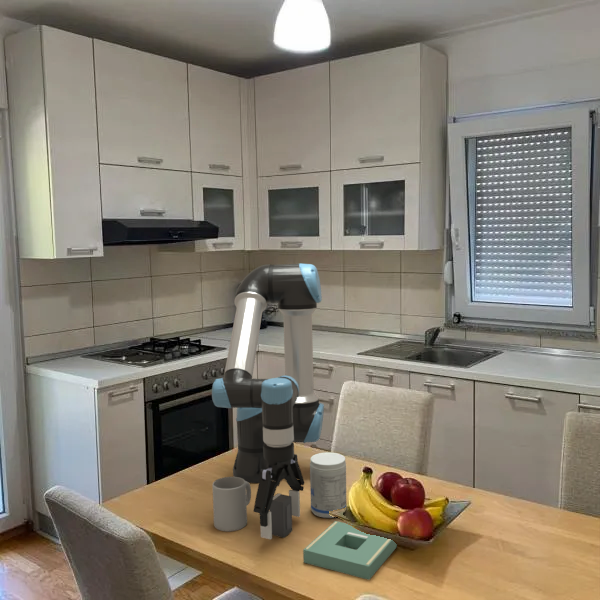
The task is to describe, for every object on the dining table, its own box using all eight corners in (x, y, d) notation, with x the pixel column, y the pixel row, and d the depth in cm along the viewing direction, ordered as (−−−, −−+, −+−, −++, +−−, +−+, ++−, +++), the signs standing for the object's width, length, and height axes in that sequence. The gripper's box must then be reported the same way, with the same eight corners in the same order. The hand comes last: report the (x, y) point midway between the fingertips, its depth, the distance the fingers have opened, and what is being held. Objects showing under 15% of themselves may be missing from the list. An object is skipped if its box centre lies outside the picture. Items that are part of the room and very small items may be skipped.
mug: (231, 534, 156) (229, 492, 155) (206, 526, 161) (205, 484, 160) (262, 516, 166) (261, 476, 165) (238, 509, 171) (237, 469, 170)
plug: (278, 527, 159) (277, 492, 158) (293, 531, 157) (292, 495, 156) (270, 534, 156) (268, 498, 155) (285, 538, 154) (283, 501, 153)
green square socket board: (335, 532, 156) (335, 520, 156) (396, 546, 148) (396, 534, 148) (303, 562, 142) (303, 549, 142) (369, 579, 134) (368, 566, 134)
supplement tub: (308, 505, 172) (306, 453, 170) (342, 502, 174) (340, 450, 172) (314, 521, 162) (313, 465, 161) (350, 517, 164) (349, 462, 163)
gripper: (291, 426, 167) (293, 504, 169) (236, 456, 146) (239, 544, 148) (316, 430, 163) (318, 509, 165) (263, 461, 142) (266, 551, 144)
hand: (281, 526), depth 156 cm, fingers open, 13 cm apart
